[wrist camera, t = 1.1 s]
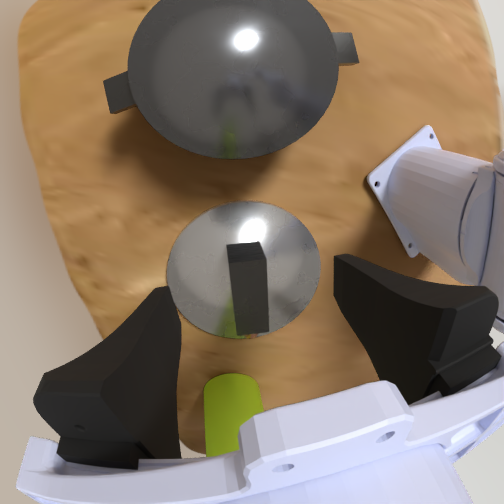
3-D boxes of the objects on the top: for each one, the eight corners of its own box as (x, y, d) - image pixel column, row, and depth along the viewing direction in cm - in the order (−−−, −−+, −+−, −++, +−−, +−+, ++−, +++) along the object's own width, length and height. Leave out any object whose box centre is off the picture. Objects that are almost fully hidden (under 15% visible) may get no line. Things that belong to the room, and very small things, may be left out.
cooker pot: (309, -3, 14) (335, -30, 10) (341, 131, 19) (377, 135, 15) (114, 36, 14) (89, 14, 9) (148, 176, 19) (129, 192, 14)
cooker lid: (318, 192, 21) (339, 207, 18) (313, 321, 26) (326, 349, 23) (156, 208, 20) (144, 226, 17) (183, 337, 25) (181, 369, 22)
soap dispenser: (262, 405, 30) (299, 564, 12) (202, 405, 29) (215, 573, 11) (272, 373, 28) (323, 558, 10) (204, 371, 27) (220, 573, 9)
